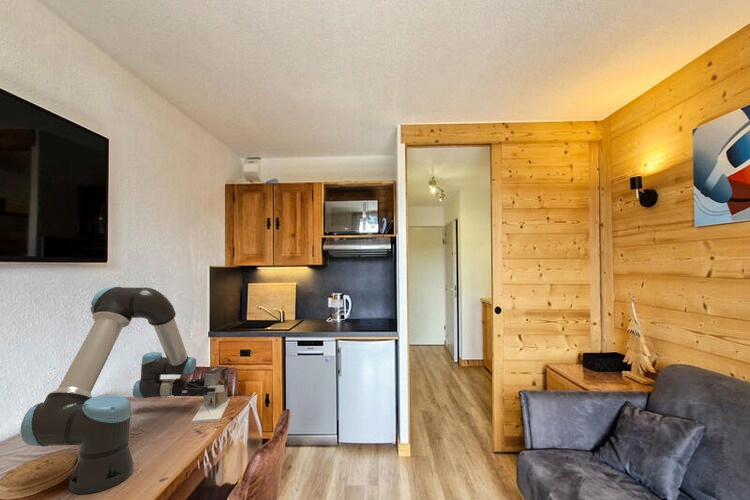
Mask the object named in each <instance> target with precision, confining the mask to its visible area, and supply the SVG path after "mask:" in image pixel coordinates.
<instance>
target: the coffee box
mask: <svg viewBox="0 0 750 500" xmlns="http://www.w3.org/2000/svg"><path fill="white" fill-rule="evenodd" d="M229 368H230V367H229V366H218V365H217V366H214V367H212V368H210V369H208V370H205V371H204V378H205V381H204V386H203V387H208V386H221V385H224V392H214V393H208V392H207V395H203V402H202V403H203V404H202V405H203V407H210V408H216V407H217V406H219V405H221V404H222V403H224V402H226V401H227V399H228V390H229V371H230V370H229Z"/></svg>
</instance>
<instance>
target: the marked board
mask: <svg viewBox="0 0 750 500" xmlns="http://www.w3.org/2000/svg"><path fill="white" fill-rule="evenodd" d="M230 402H231V399H230V398H227V401H226V402H224V403H222V404H221V405H219V406H217V407H216V408H210V407H203V404H202V405H201V407H200V408H199V409H198V411H197V412H196V414H195V415H194V417H193V418H192V420H191V424H204V423H206V424H207V423H216V422H217V423H218V422H221V421H222V418H223V417H224V415H225V412H226V411H227V409H228V406H229V404H230Z"/></svg>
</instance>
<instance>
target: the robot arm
mask: <svg viewBox="0 0 750 500" xmlns="http://www.w3.org/2000/svg"><path fill="white" fill-rule="evenodd" d="M90 304H91V305H90V312H91V315H92V319H93V321H94V322H93V325H92V326H91V328H90V330H89V332H88V333H87V335H86V337H85V338H84V341H83V342H82V344H81V346H80V347H79V350H78V351H77V354H76V355H75V357H74V359H73V360H72V362H71V364H70V366H69V368H68V370H67V371H66V373H65V375H64V377H63V379H62V381H61V382H60V384H59V386H58V388H56V389H55V390H53V391H51V392H49V393H48V394H47V395H46V397H45V400H44V401H42V402H38V403H36V404H34V405H33V406H31V407H30V408H29V409H28V410H27V412H25V414H24V416H23V418H22V421H21V424H20V434H21V439H22V441H23V442H24V443H25V444H27V445H28V446H32V447H34V446H35V447H36V446H37V447H44V448H45V447H50V446H79V457H78V459H77V462H76V463H75V464H76V465H75V466H74V468H73V471H72V474H71V475H70V477H69V483H68V484H69V485H68V490H69V491H70V492H71V493H73V494H77V495H78V494H79V495H83V494H84V495H86V494H93V493H97V492H102V491H105V490H107V489H110V488H113V487H114V486H117V485H119V484H120V483H122V482H124V481H126V480H127V479H128V478H129V477H130V476H131V475H132V473H133V472H134V459H133V456H132V453H131V449H130V448H129V438H130V437H129V436H130V427H131V426H130V425H131V416H132V410H131V409H132V408H131V407H132V405H131V400H130V399H129V398H128V397H126V396H124V395H122V394H121V395H120V394H105V395H96V396H92V394H91V393H92V391H93V390H94V387H95V385H96V383H97V381H98V379H99V377H100V375H101V373H102V371H103V368H104V367H105V364H106V362H107V361H108V358H109V356H110V354H111V351H112V350H113V348H114V345H116V341H117V340H118V337H119V335H120V333H121V332H122V329H123V328H127V327H128V326H129V325H130V324H131V322H132V319H137V318H139V319H140V318H141V319H142V318H143V319H145V320H147V323H148V324H149V325H150V326H152V327H153V328H154V331H155V333H156V335H157V338H158V340H159V343H160V345H161V347H162V349H163V352H164V354H165V357H163V353H162V352H159V351H150V352H147V353H145V354H143V355H142V360H141V364H140V365H141V368H140V379H138V380H136V381H135V382H134V384H133V388H132V396H133V397H134V398H135V399H151V398H168V397H181V396H184V395H193V396H194V395H195V396H204V395H207V392H208V393H214V392H224V385H221V386H208V387H204V381H205V377H201V378H195V379H194V378H192V379H190V380H189V381H186V378H184V377H183V378H163V379H162V378H161V375H162V376H163V375H164V376H167V375H169V376H170V375H173V376H174V375H175V376H177V375H178V376H180V375H181V376H184V375H185V376H186V375H192V374H193V373H194V372H195V371H196V367H197V359H196V357H194V356H193V357H192V356H188V353H187V351H186V348H185V345H184V342H183V339H182V336H181V334H180V330H179V328H178V325H177V321H176V319H175V317H176V315H177V314H176V310H175V307H174V306H173V304H172V302H171V301H170V300H169V299H168V298H167V296H165V295H164V294H163V293H161V292H160V291H159V290H156V289H154V288H152V287H126V286H125V287H124V286H123V287H122V286H113V287H112V286H111V287H110V286H109V287H106V288H102V289H101V290H99V291H97V293H95V295H94V296H93V298H92V299H91V303H90Z"/></svg>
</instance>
